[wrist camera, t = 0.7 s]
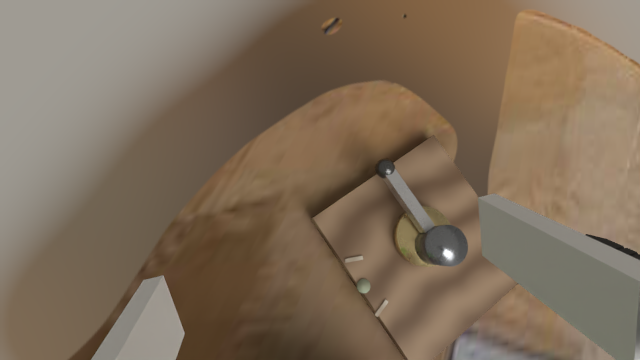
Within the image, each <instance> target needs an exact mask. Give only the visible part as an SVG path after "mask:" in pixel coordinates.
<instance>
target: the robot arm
mask: <svg viewBox="0 0 640 360" xmlns="http://www.w3.org/2000/svg"><path fill="white" fill-rule="evenodd" d="M478 206H479V219H480V233H481V246H482V256H484V257H485V258H486V259H487V260H489V261H490V262H491V263H493V264H494V265H495V266H496V267H498V268H499V269H500V270H502V271H503V272H504V273H505V274H507V275H508V276H509V277H511V278H512V279H513V280H514V281H516V282H517V283H518V284H520V285H521V286H522V287H523V288H525V289H526V290H527V291H529V292H530V293H531V294H532V295H534V296H535V297H536V298H538V299H539V300H540V301H541V302H543V303H544V304H545V305H547V306H548V307H549V308H550V309H552V310H553V311H554V312H556V313H557V314H558V315H559V316H561V317H562V318H563V319H565V320H566V321H567V322H568V323H570V324H571V325H572V326H574V327H575V328H576V329H577V330H579V331H580V332H581V333H583V334H584V335H585V336H587V337H588V338H589V339H590V340H592V341H593V342H594V343H596V344H597V345H598V346H599V347H601V348H602V349H603V350H605V351H606V352H607V353H608V354H610V355H611V356H612V357H614V358H615V359H616V360H640V255H638V253H637V252H635V251H633V250H630V249H628V248H624V246H621V245H619V244H617V243H615V242H612V241H610V240H608V239H604V238H600V237H596V236H592V235H588V234H586V235H584V234H582V233H580V232H577V231H575V230H573V229H571V228H569V227H566V226H564V225H562V224H560V223H558V222H556V221H553V220H551V219H549V218H547V217H545V216H543V215H540V214H538V213H536V212H534V211H532V210H529V209H527V208H525V207H523V206H521V205H519V204H516V203H514V202H512V201H510V200H508V199H506V198H503V197H501V196H499V195H497V194H491V195H487V196H483V197H479V198H478ZM184 334H185V333H184V330H183V327H182V325H181V322H180V319H179V316H178V314H177V311H176V308H175V306H174V303H173V300H172V297H171V295H170V292H169V289H168V287H167V284H166V281H165V278H164V276H159V277H155V278H151V279H147V280H143V282H142V283H141V285H140V286H139V288H138V289H137V291H136V292H135V294H134V295H133V297H132V298H131V300H130V301H129V303H128V304H127V306H126V307H125V309H124V311H123V312H122V314H121V315H120V317H119V318H118V320H117V321H116V323H115V324H114V326H113V327H112V329H111V330H110V332H109V333H108V335H107V336H106V338H105V339H104V341H103V342H102V344H101V345H100V347H99V348H98V350H97V351H96V353H95V354H94V356H93V357H92V359H91V360H176V358H177V355H178V352H179V349H180V346H181V343H182V340H183V337H184Z"/></svg>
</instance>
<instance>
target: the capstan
mask: <svg viewBox="0 0 640 360" xmlns="http://www.w3.org/2000/svg"><path fill="white" fill-rule="evenodd" d="M375 172H376V174H377V175H378V176H379V177H380V178H382V179H383V180H384V182H385V183H386V185H387V186H388V188H389V189H390V191H391V192H392V193H393V195H394V196H395V198H396V199H397V201H398V202H399V203H400V205H401V206H402V208H403V209H404V211H405V212H404V213H403V214H402V215H401V216H400V217H399V219H398V220H397V222H396V224H395V227H394V243H395V246H396V248H397V251H398V252H399V254H400V255H401V256H402V257H403V258H404V259H405V260H406V261H407V262H409V263H411V264H413V265H416V266H422V267H432V266H436V265H439V266H449V267H452V266H456V265H458V264H460V263H461V262H462V261H463V260H464V259H465V257H466V255H467V252H468V243H467V239H466V237H465V235H464V233H463V232H462V231H461V230H460V229H459V228H457V227H455V226H453V225H451V224H450V222H449V221H448V219H447V218H446V217H445V216H444V215H443V214H442V213H441V212H440V211H438V210H436V209H434V208H431V207H426V206H421V205H420V203H419V202H418V200H417V199H416V198H415V196H414V195H413V193H412V192H411V190H410V189H409V188H408V186H407V185H406V183H405V182H404V180H403V179H402V178H401V176H400V175H399V173H398V172H397V170H396V169H395V165H394V163H393V162H392V161H391V160H389V159H381V160H380V161H378V162H377V164H376V166H375Z"/></svg>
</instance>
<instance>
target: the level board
mask: <svg viewBox="0 0 640 360" xmlns="http://www.w3.org/2000/svg"><path fill="white" fill-rule="evenodd" d="M393 163H394V165H395V169H396V170H397V172H398V173H399V175H400V176H401V178H402V179H403V180H404V182H405V183H406V185H407V186H408V188H409V189H410V190H411V192H412V193H413V195H414V196H415V198H416V199H417V200H418V202H419V203H420V205H421V206H426V207H431V208H434V209H436V210H438V211H440V212H441V213H442V214H443V215H444V216H445V217H446V218H447V219H448V221H449V222H450V224H451V225H453V226H455V227H457V228H459V229H460V230H461V231H462V232H463V233H464V235H465V237H466V239H467V243H468V252H467V255H466V257H465V259H464V260H463V261H462V262H461V263H460V264H458V265H456V266H452V267H449V266H439V265H436V266H432V267H422V266H416V265H413V264H411V263H409V262H407V261H406V260H405V259H404V258H403V257H402V256H401V255H400V254H399V252H398V251H397V248H396V246H395V243H394V227H395V224H396V222H397V220H398V219H399V217H400V216H401V215H402V214H403V213H404V212H405V211H404V209H403V208H402V206H401V205H400V203H399V202H398V201H397V199H396V198H395V196H394V195H393V193H392V192H391V191H390V189H389V188H388V186H387V185H386V183H385V182H384V180H383V179H382V178H380V177H379V176H378V175H377V174H376V175H374V176H373V177H372V178H370V179H369V180H367V181H366V182H364V183H363V184H361V185H360V186H358V187H357V188H355V189H354V190H353V191H351V192H350V193H348V194H347V195H345V196H344V197H342V198H341V199H339V200H338V201H336V202H335V203H334V204H332V205H331V206H329V207H328V208H326V209H325V210H323V211H322V212H320V213H319V214H318V215H316V216H315V217H313V218H312V219H311V220H312V222H313V223H314V225H315V226H316V228H317V229H318V231H319V232H320V234H321V235H322V237H323V238H324V240H325V241H326V243H327V244H328V246H329V247H330V249H331V250H332V252H333V253H334V255H335V256H336V258H337V259H338V260H339V262H340V263H341V265H342V266H343V268H344V269H345V271H346V272H347V274H348V275H349V277H350V278H351V280H352V281H353V283H354V284H355V286H356V287H357V289H358V291H359V292H360V293H361V295H362V296H363V298H364V299H365V301H366V302H367V304H368V305H369V307H370V308H371V310H372V311H373V312H374V314H375V315H376V317H377V318H378V320H379V321H380V323H381V324H382V326H383V327H384V329H385V330H386V332H387V333H388V335H389V336H390V338H391V339H392V341H393V342H394V344H395V345H396V347H397V348H398V350H399V351H400V353H401V354H402V356H403V357H404V359H405V360H433V359H434V358H435V357H437V356H438V355H439V354H440V353H441V352H442V351H443V350H444V349H445V348H447V347H448V346H449V345H450V344H451V343H452V342H453V341H454V340H456V339H457V338H458V337H459V336H460V335H461V334H462V333H463V332H464V331H466V330H467V329H468V328H469V327H470V326H471V325H472V324H473V323H474V322H476V321H477V320H478V319H479V318H480V317H481V316H482V315H483V314H485V313H486V312H487V311H488V310H489V309H490V308H491V307H492V306H493V305H495V304H496V303H497V302H498V301H499V300H500V299H501V298H502V297H503V296H505V295H506V294H507V293H508V292H509V291H510V290H511V289H512V288H513V287H515V286H516V285H517V284H518V283H517V282H516V281H514V280H513V279H512V278H511V277H509V276H508V275H507V274H505V273H504V272H503V271H502V270H500V269H499V268H498V267H496V266H495V265H494V264H493V263H491V262H490V261H489V260H487V259H486V258H485V257H484V256H482V246H481V233H480V219H479V206H478V198H479V197H478V196H477V194H476V193H475V192H474V190H473V189H472V188H471V186H470V185H469V183H468V182H467V180H466V179H465V178H464V176H463V175H462V173H461V172H460V171H459V169H458V168H457V166H456V165H455V164H454V162H453V161H452V159H451V158H450V157H449V155H448V154H447V152H446V151H445V150H444V148H443V147H442V146H441V144H440V143H439V141H438V140H437V139H436V137H435V136H434V135H433V136H431V137H430V138H428V139H427V140H425V141H424V142H423V143H421V144H420V145H418V146H417V147H415V148H414V149H412V150H411V151H409V152H408V153H407V154H405V155H404V156H402V157H401V158H399V159H398V160H396V161H395V162H393Z"/></svg>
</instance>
